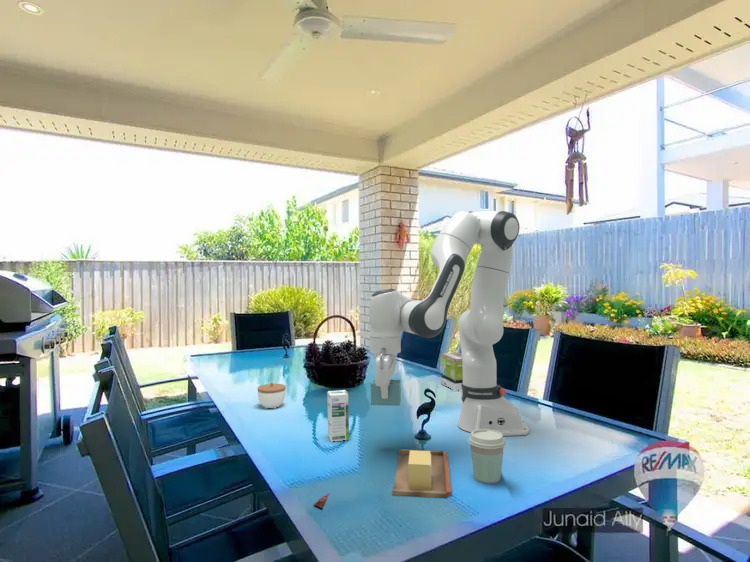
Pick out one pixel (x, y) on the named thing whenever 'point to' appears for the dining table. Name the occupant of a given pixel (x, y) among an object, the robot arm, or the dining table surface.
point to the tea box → (451, 370)
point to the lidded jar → (271, 395)
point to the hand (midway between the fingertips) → (386, 394)
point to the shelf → (438, 476)
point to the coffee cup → (487, 454)
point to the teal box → (393, 394)
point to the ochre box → (419, 470)
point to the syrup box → (338, 415)
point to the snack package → (322, 501)
